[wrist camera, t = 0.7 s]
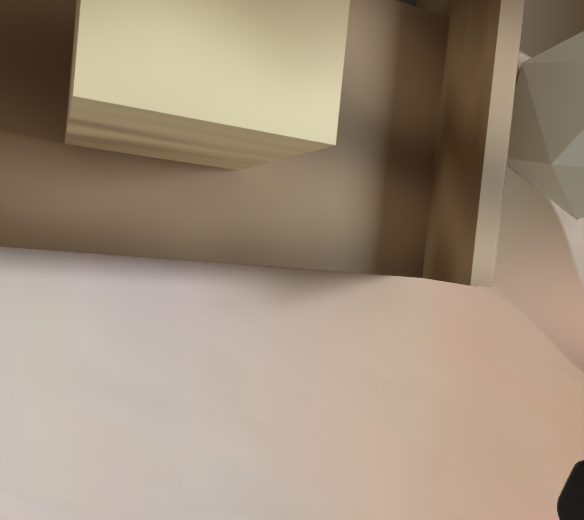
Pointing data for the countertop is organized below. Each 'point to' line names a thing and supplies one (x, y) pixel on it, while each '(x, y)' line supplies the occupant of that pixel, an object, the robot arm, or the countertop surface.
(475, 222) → the trap box
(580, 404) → the countertop surface
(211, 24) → the maple block
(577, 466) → the robot arm
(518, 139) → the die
